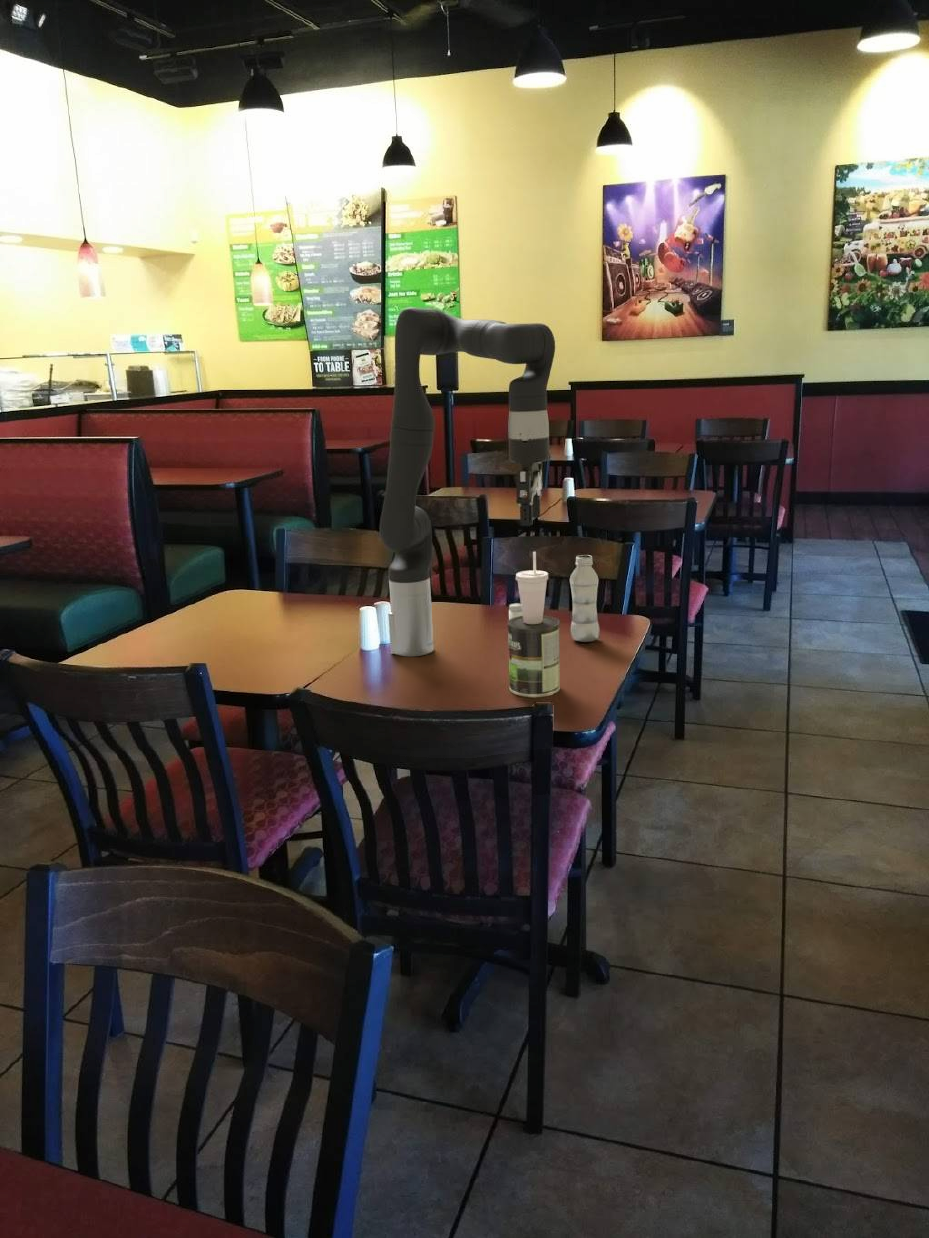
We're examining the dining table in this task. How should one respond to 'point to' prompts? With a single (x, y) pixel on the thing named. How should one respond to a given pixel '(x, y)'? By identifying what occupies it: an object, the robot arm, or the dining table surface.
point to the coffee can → (534, 657)
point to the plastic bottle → (584, 600)
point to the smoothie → (532, 593)
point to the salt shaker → (515, 611)
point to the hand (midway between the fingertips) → (530, 521)
